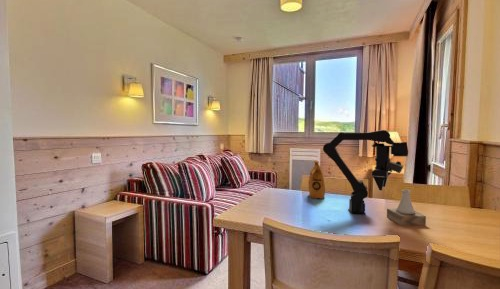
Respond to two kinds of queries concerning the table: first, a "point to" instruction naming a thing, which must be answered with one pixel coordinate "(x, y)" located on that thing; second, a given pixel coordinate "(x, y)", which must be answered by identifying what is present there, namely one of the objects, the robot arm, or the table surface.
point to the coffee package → (316, 182)
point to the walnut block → (406, 218)
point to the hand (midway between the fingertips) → (382, 188)
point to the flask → (405, 203)
